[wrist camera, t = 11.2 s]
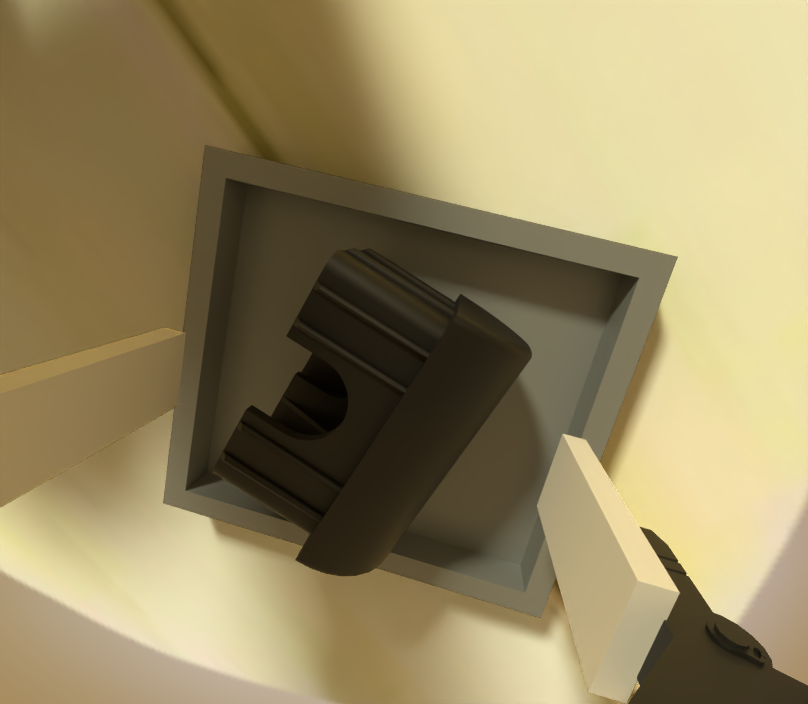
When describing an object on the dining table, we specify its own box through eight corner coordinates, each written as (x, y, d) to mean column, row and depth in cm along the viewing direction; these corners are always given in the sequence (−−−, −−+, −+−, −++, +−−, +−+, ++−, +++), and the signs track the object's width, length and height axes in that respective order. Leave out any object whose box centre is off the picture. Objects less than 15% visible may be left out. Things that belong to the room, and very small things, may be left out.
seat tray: (195, 476, 24) (163, 503, 21) (237, 158, 20) (205, 145, 17) (532, 576, 22) (540, 618, 20) (649, 256, 19) (677, 256, 16)
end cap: (399, 503, 22) (370, 613, 15) (274, 423, 22) (191, 499, 15) (522, 330, 19) (551, 372, 13) (380, 240, 19) (335, 235, 13)
